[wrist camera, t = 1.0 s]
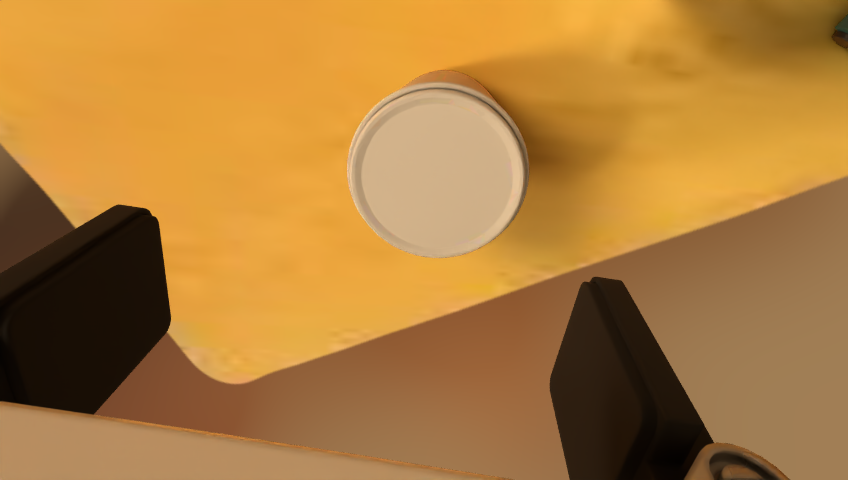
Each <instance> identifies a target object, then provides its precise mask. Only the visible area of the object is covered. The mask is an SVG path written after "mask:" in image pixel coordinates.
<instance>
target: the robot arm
mask: <svg viewBox="0 0 848 480" xmlns="http://www.w3.org/2000/svg"><path fill="white" fill-rule="evenodd" d="M170 322H171V314H170V306H169V298H168V290H167V283H166V275H165V267H164V259H163V252H162V244H161V236H160V228H159V222H158V220H157V218H156V217H154V216H152V214H151V213H150V211H149V210H147V209H145V208H139V207H132V206H126V205H116V206H113V207H112V208H110V209H108V210H107V211H105V212H103V213H102V214H100V215H98V216H97V217H95V218H93V219H92V220H90V221H88V222H86V223H85V224H83V225H81V226H80V227H78V228H76V229H75V230H73V231H71V232H70V233H68V234H66V235H65V236H63V237H61V238H60V239H58V240H56V241H54V242H53V243H51V244H50V245H48V246H46V247H44V248H43V249H41V250H39V251H37V252H36V253H34V254H32V255H31V256H29V257H28V258H26V259H24V260H22V261H21V262H19V263H17V264H16V265H14V266H12V267H10V268H9V269H7V270H5V271H4V272H2V273H0V480H513V479H507V478H501V477H495V476H489V475H482V474H476V473H470V472H463V471H457V470H451V469H445V468H438V467H432V466H425V465H419V464H413V463H406V462H401V461H394V460H388V459H381V458H375V457H369V456H362V455H356V454H349V453H344V452H337V451H331V450H324V449H318V448H311V447H304V446H298V445H292V444H285V443H278V442H272V441H266V440H259V439H252V438H245V437H239V436H232V435H226V434H219V433H213V432H206V431H200V430H193V429H186V428H180V427H173V426H166V425H159V424H153V423H146V422H139V421H132V420H125V419H119V418H112V417H105V416H98V415H94V413H95V412H96V411H97V410H98V409H99V408H100V407H101V406H102V404H103V403H104V402H105V401H106V400H107V399H108V398H109V397H110V396H111V394H112V393H113V392H114V391H115V390H116V389H117V388H118V387H119V385H120V384H121V383H122V382H123V381H124V380H125V379H126V378H127V376H128V375H129V374H130V373H131V372H132V371H133V369H135V367H136V366H137V365H138V364H139V363H140V361H142V359H143V358H144V357H145V356H146V355H147V354H148V352H150V351H151V349H152V348H153V347H154V346H155V345H156V344H157V342H159V340H160V339H161V338H162V337H163V336H164V335H165V333H166V332H167V331H168V328H169V326H170ZM550 393H551V398H552V402H553V407H554V411H555V416H556V420H557V424H558V429H559V433H560V438H561V442H562V447H563V451H564V456H565V459H566V465H567V469H568V474H569V478H570V480H790V479H789V478H788V477H786V476H785V475H784V474H783V473H782V472H781V471H780V470H779V469H778V468H777V467H776V466H774V465H773V464H771V463H770V462H768V461H767V460H766V459H764V458H763V457H761V456H759V455H757V454H755V453H753V452H751V451H749V450H747V449H745V448H742V447H739V446H736V445H733V444H728V443H714V442H713V440H712V438H711V437H710V435H709V433H708V431H707V429H706V428H705V426H704V423H703V422H702V420H701V418H700V417H699V415H698V413H697V411H696V410H695V408H694V406H693V404H692V402H691V401H690V399H689V397H688V395H687V394H686V392H685V390H684V388H683V387H682V385H681V383H680V381H679V380H678V378H677V376H676V374H675V373H674V371H673V369H672V367H671V366H670V364H669V362H668V360H667V359H666V357H665V355H664V354H663V352H662V350H661V348H660V346H659V345H658V343H657V341H656V339H655V338H654V336H653V334H652V332H651V330H650V329H649V327H648V325H647V323H646V322H645V320H644V318H643V317H642V315H641V313H640V311H639V309H638V308H637V306H636V304H635V303H634V301H633V299H632V297H631V295H630V294H629V292H628V290H627V288H626V287H625V285H624V283H623V282H622V281H620V280H614V279H607V278H601V277H593V278H592V279H591V281H590V282H583V283H582V284H581V287H580V289H579V292H578V295H577V298H576V301H575V304H574V307H573V311H572V313H571V316H570V320H569V323H568V325H567V329H566V332H565V335H564V337H563V341H562V344H561V347H560V350H559V353H558V356H557V359H556V362H555V365H554V368H553V371H552V374H551V378H550Z"/></svg>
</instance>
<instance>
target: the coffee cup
mask: <svg viewBox="0 0 848 480" xmlns="http://www.w3.org/2000/svg"><path fill="white" fill-rule="evenodd" d="M347 176H348V183H349V189H350V192H351V196H352V198H353V201H354V203H355V205H356V207H357V209H358V211H359V213H360V214H361V216H362V217H363V219H364V220H365V222H366V223H367V224H368V225H369V226H370V227H371V228H372V229H373V230H374V231H375V232H376V233H377V234H378V235H379V236H380V237H381V238H382V239H384V240H385V241H387V242H388V243H390V244H391V245H392V246H394V247H396V248H398V249H400V250H403V251H405V252H408V253H411V254H414V255H418V256H423V257H431V258H447V257H454V256H460V255H463V254H466V253H469V252H472V251H474V250H477V249H479V248H480V247H482V246H484V245H486V244H488V243H489V242H491V241H492V240H494V239H495V238H496V237H497V236H499V235H500V234H501V233H502V232H503V231H504V230H505V229H506V228H507V227H508V226H509V224H510V223H511V222H512V221H513V219H514V218H515V216H516V215H517V213H518V211H519V209H520V207H521V205H522V203H523V201H524V198H525V195H526V191H527V187H528V180H529V160H528V153H527V149H526V145H525V142H524V140H523V137H522V135H521V133H520V131H519V129H518V127H517V125H516V124H515V122H514V121H513V119H512V118H511V117H510V116H509V114H508V113H507V112H506V111H505V110H504V109H503V108H502V107H501V106H500V105H499V104H498V103H497V102H496V101H495V99H494V98H493V97H492V96H491V95H490V93H489V92H488V91H487V90H486V89H485V88H484V87H483V86H482V85H481V84H480V83H478V82H477V81H476V80H474V79H473V78H471V77H469V76H467V75H465V74H462V73H460V72H456V71H449V70H440V71H433V72H429V73H426V74H423V75H421V76H419V77H417V78H415V79H414V80H412V81H411V82H409V83H408V84H407V85H405V86H404V87H402V88H401V89H399V90H398V91H396V92H394V93H392V94H390V95H388V96H387V97H385V98H384V99H383V100H381V101H380V102H379V103H378V104H376V105H375V106H374V107H373V108H372V109H371V110H370V111H369V112H368V114H367V115H366V116H365V117H364V119H363V120H362V122H361V123H360V125H359V127H358V128H357V130H356V132H355V135H354V137H353V140H352V143H351V146H350V150H349V155H348V161H347Z"/></svg>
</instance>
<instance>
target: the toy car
mask: <svg viewBox="0 0 848 480" xmlns="http://www.w3.org/2000/svg"><path fill="white" fill-rule="evenodd" d="M835 29H836V30H837V31H836V32H835V34H834V35H833V36H832V39H833V40H834V41H835V42H836V43H837V44H838V45H840V46H842V47H844V48H848V14H847V16H846V17H845V18H844V19H843V20H842V21H841V22H840V23H839V24H838V25H837V26H836V27H835Z"/></svg>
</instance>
